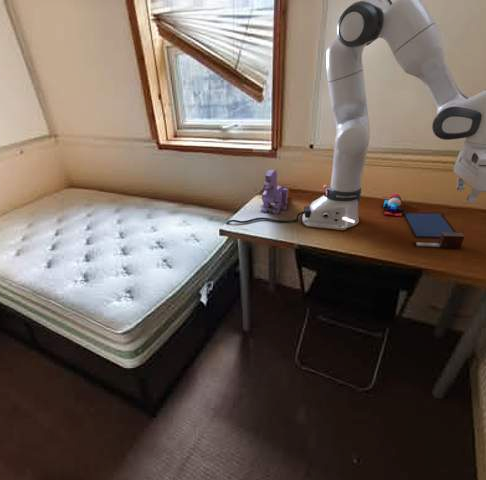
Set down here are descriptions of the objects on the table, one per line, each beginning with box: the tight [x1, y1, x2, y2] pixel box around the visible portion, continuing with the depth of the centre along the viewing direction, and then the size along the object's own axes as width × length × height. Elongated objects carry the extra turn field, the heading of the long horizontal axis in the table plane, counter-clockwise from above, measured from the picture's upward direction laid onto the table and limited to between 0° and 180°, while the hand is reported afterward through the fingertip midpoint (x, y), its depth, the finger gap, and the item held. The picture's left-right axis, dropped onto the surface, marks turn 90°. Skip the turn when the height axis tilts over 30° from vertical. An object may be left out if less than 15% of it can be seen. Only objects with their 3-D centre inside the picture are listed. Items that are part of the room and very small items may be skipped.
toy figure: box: [383, 193, 405, 217], centre depth 140 cm, size 8×5×15 cm
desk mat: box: [404, 212, 455, 239], centre depth 126 cm, size 13×20×1 cm, turn 166°
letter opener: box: [415, 232, 465, 249], centre depth 113 cm, size 13×3×5 cm, turn 76°
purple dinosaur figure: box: [260, 169, 290, 215], centre depth 149 cm, size 12×25×19 cm, turn 149°
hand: (464, 195), depth 104 cm, fingers open, 8 cm apart
